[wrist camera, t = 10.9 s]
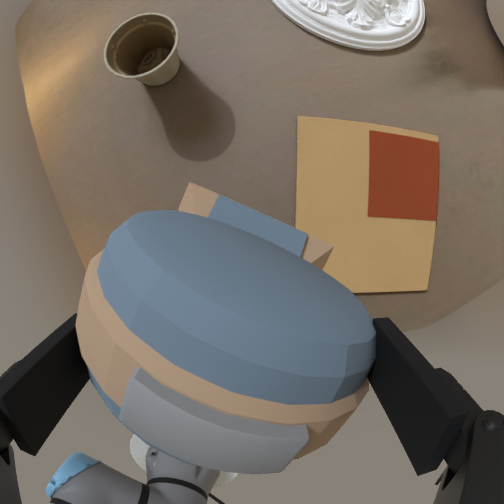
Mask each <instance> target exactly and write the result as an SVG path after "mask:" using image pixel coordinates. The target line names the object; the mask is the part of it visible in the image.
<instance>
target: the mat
mask: <svg viewBox="0 0 504 504" xmlns="http://www.w3.org/2000/svg"><path fill="white" fill-rule="evenodd" d="M438 189H439V142H438V136H435V135H430V134H426V133H421V132H416V131H411V130H406V129H401V128H395V127H389V126H383V125H377V124H370V123H363V122H355V121H347V120H338V119H328V118H317V117H304V116H298V117H297V180H296V217H295V228H296V229H299V230H301V231H303V232H305V233H307V234H309V235H312V236H314V237H316V238H318V239H320V240H322V241H324V242H326V243H329V244H331V245H333V246H334V248H333V250H332V252H331V254H330V256H329V258H328V260H327V262H326V264H325V266H324V268H323V271H324V272H326V273H327V274H329V275H330V276H332V277H333V278H335V279H336V280H337V281H339V282H340V283H341V284H342V285H344V286H345V287H346V288H348V289H349V290H350V291H351V292H352V293H367V292H397V291H421V290H427V287H428V281H429V275H430V269H431V262H432V254H433V246H434V237H435V227H436V221H437V208H438Z"/></svg>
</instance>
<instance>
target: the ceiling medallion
mask: <svg viewBox="0 0 504 504" xmlns="http://www.w3.org/2000/svg"><path fill="white" fill-rule="evenodd" d="M271 2H272V3H273V4H274V5H275V6H276V8H277V9H278V10H279V11H280V12H281V13H283V14H284V15H285V16H286V17H287V18H289V19H290V20H291V21H293V22H294V23H295V24H297V25H298V26H300V27H302V28H303V29H305V30H307V31H308V32H310V33H312V34H314V35H316V36H318V37H321V38H323V39H325V40H328V41H330V42H333V43H336V44H339V45H343V46H346V47H350V48H355V49H361V50H371V51H382V50H390V49H395V48H398V47H401V46H404V45H406V44H407V43H409V42H410V41H412V40H413V39H414V38H415V37H416V36H417V35H418V34H419V33H420V31H421V29H422V27H423V25H424V20H425V7H424V3H423V0H271Z"/></svg>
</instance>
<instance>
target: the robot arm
mask: <svg viewBox="0 0 504 504" xmlns="http://www.w3.org/2000/svg"><path fill="white" fill-rule="evenodd" d="M76 319H77V314H76V313H75V314H74V315H73V316H72V317H71V318H69V319H68V320H67V321H66V322H65V323H63V324H62V325H61V326H60V327H59V328H58V329H56V330H55V331H54V332H53V333H52V334H50V335H49V336H48V337H47V338H46V339H45V340H44V341H42V342H41V343H40V344H39V345H38V346H37V347H35V348H34V349H33V350H32V351H31V352H30V353H29V354H28V355H26V356H25V357H24V358H23V359H22V360H20V361H18V362H16V363H15V364H13V365H12V366H11V367H10V368H9V369H8V370H7V371H6V372H4V373H3V374H2V377H0V504H22V502H21V498H20V492H19V487H18V481H17V475H16V468H15V460H14V452H13V449H12V446H11V445H10V443H11V441H12V440H13V439H14V440H15V442H16V443H17V445H18V447H19V448H20V450H22V451H24V452H26V453H28V454H31V455H33V456H36V454H37V453H38V451H39V449H40V448H41V447H42V445H43V444H44V442H45V441H46V439H47V438H48V436H49V435H50V433H51V432H52V431H53V429H54V428H55V426H56V425H57V423H58V422H59V420H60V419H61V418H62V416H63V415H64V413H65V412H66V410H67V409H68V408H69V406H70V405H71V404H72V402H73V401H74V399H75V398H76V397H77V395H78V394H79V392H80V391H81V390H82V388H83V387H84V386H85V384H86V383H87V382H88V380H89V379H90V376H89V372H88V368H87V364H86V362H85V361H84V359H83V357H82V355H81V351H80V346H79V341H78V336H77V331H76V326H75V325H76ZM372 324H373V326H374V328H375V331H376V359H375V361H374V363H373V365H372V367H371V369H370V371H369V373H368V375H367V378H368V380H369V382H370V384H371V386H372V388H373V389H374V391H375V393H376V395H377V397H378V399H379V401H380V403H381V405H382V406H383V408H384V410H385V412H386V414H387V416H388V418H389V420H390V422H391V424H392V426H393V427H394V430H395V432H396V433H397V435H398V437H399V439H400V441H401V443H402V445H403V447H404V449H405V451H406V453H407V455H408V457H409V459H410V461H411V463H412V465H413V467H414V469H415V471H416V473H417V476H419V475H422V474H425V473H428V472H431V471H434V470H436V469H437V468H438V467H439V465H440V463H441V462H442V460H443V459H444V460H445V461H446V463H447V465H448V466H447V467H446V469H445V470H444V472H443V473H442V474H441V476H440V477H439V479H438V480H437V482H436V483H435V484H436V485H438V483H439V482H440V481H441V483H440V486H439V489H438V492H437V495H436V498H435V501H434V504H504V415H502V414H501V413H499V412H496V411H493V410H486V411H483V410H482V409H481V408H480V407H479V405H478V404H477V403H476V402H475V401H474V400H473V398H472V397H471V396H470V395H469V394H468V393H467V391H465V390H463V387H462V386H461V385H460V384H459V383H458V382H457V380H456V379H455V378H454V377H453V376H452V375H451V374H450V373H448V372H447V371H445V370H443V369H442V368H436V369H434V368H433V366H432V365H431V364H430V363H429V362H428V361H427V360H426V359H425V357H424V356H423V355H422V354H421V353H420V352H419V351H418V350H417V349H416V347H415V346H414V345H413V344H412V343H411V342H410V341H409V340H408V338H407V337H406V336H405V335H404V334H403V333H402V332H401V331H400V330H399V329H398V327H397V326H396V325H395V324H394V323H393V322H392V321H391V320H390V319H389V318H375V319H373V321H372ZM145 460H146V471H147V480H148V481H147V485H145V484H143V483H141V482H139V481H136V480H134V479H132V478H130V477H128V476H126V475H124V474H122V473H120V472H118V471H116V470H115V469H113V468H110V467H109V466H107V465H105V464H104V463H102V462H101V461H99V460H96V459H94V458H92V457H90V456H88V455H86V454H84V453H81V452H77V453H74V454H72V455H71V456H70V457H69V458H67V459H66V460H65V462H64V463H63V464H62V465H61V466H60V468H59V469H58V470H57V471H56V473H55V474H54V476H53V479H51V481H50V483H49V484H48V486H47V488H46V494H47V495H48V496H49V498H51V501H50V503H49V504H207V498H208V496H210V497H211V498H212V499H214V500H215V501H217V502H218V503H219V504H225V503H223V502H222V501H221V500H219V499H218V498H216V497H215V496H214V495H212V494H211V493H210V491H211V489H212V488H213V486H214V484H215V483H216V481H217V479H218V477H219V475H220V471H219V470H215V469H210V468H206V467H201V466H196V465H192V464H187V463H184V462H182V461H180V460H177V459H175V458H173V457H171V456H169V455H167V454H165V453H162V452H160V451H158V450H156V449H154V448H152V447H149V448H148V451H147V454H146V457H145Z"/></svg>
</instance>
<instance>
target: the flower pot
mask: <svg viewBox="0 0 504 504" xmlns="http://www.w3.org/2000/svg"><path fill="white" fill-rule="evenodd" d="M178 41H179V32H178V28H177V26H176V24H175V22H174V21H173V20H172V19H171V18H169V17H168V16H166V15H163V14H160V13H143V14H139V15H136V16H134V17H132V18H130V19H128V20H126V21H125V22H123V23H122V24H121V25H120V26H118V27H117V29H115V31H114V32H113V33H112V34H111V36H110V37H109V39H108V41H107V43H106V46H105V50H104V61H105V64H106V66H107V68H108V69H109V70H110V71H111V72H112V73H113V74H115V75H116V76H118V77H121V78H126V79H136V80H139V81H141V82H143V83H145V84H147V85H150V86H156V85H162V84H164V83H166V82H168V81H169V80H171V79H172V78H173V77H174V76H175V74H176V73H177V71H178V69H179V64H180V61H179V56H178V51H177V45H178ZM168 53H170V54H169V56H168V55H167V54H168ZM150 55H152V57H150V58H149V59H148V60H147V61H145V60H146V59H147V58H148V56H150ZM156 65H159V66H157V67H156Z"/></svg>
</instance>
